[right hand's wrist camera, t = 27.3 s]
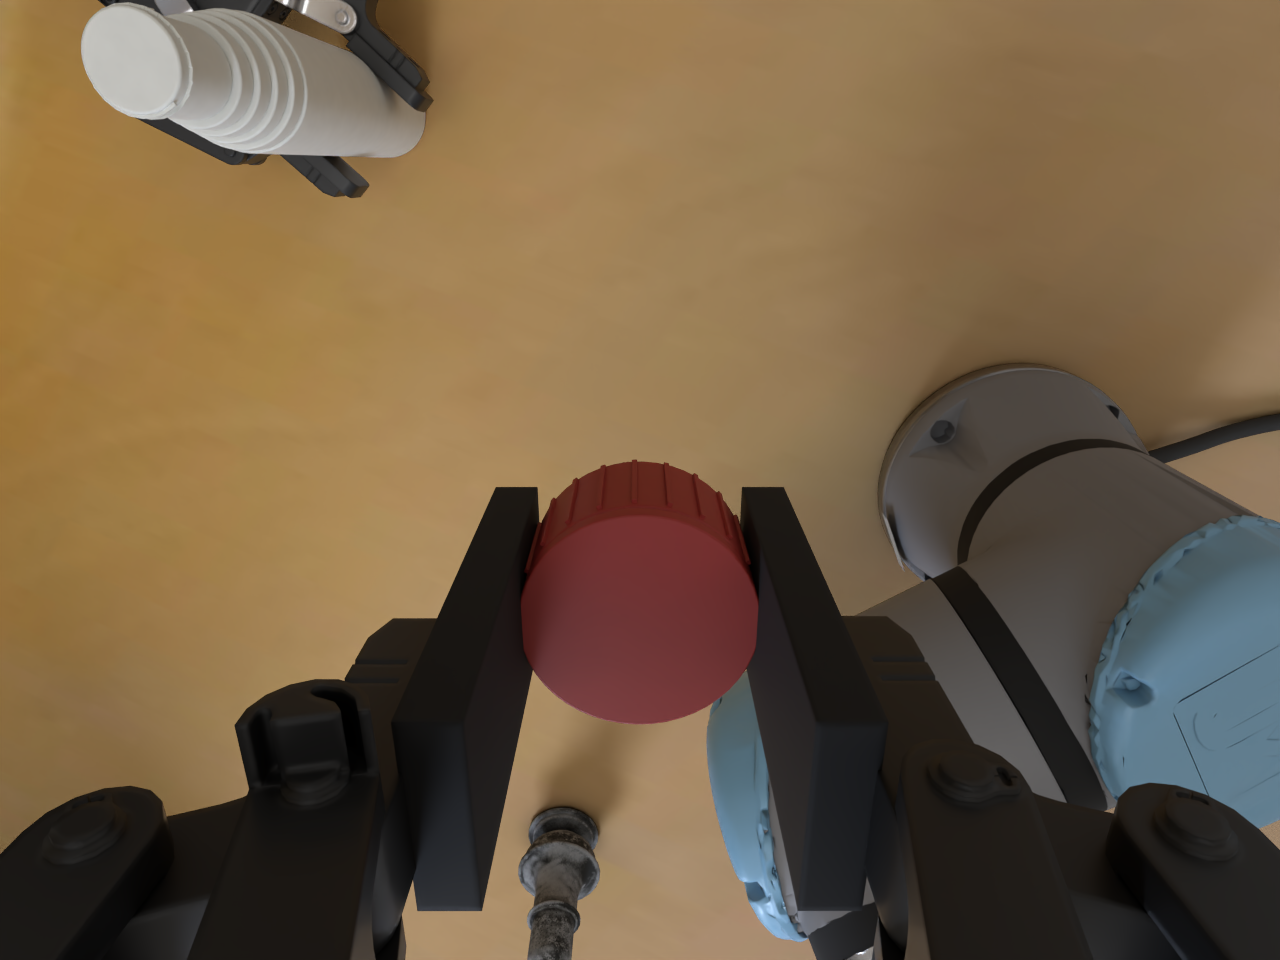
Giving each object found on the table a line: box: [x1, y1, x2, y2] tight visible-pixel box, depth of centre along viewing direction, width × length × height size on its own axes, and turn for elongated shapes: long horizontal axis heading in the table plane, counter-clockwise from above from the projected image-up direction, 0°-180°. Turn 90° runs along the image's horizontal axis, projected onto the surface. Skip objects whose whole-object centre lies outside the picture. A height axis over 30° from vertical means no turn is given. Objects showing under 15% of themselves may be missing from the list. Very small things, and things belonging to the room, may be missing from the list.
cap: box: [521, 460, 759, 724], centre depth 14 cm, size 4×4×2 cm
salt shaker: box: [518, 808, 600, 960], centre depth 55 cm, size 6×6×12 cm
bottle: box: [81, 2, 426, 158], centre depth 31 cm, size 4×4×22 cm
